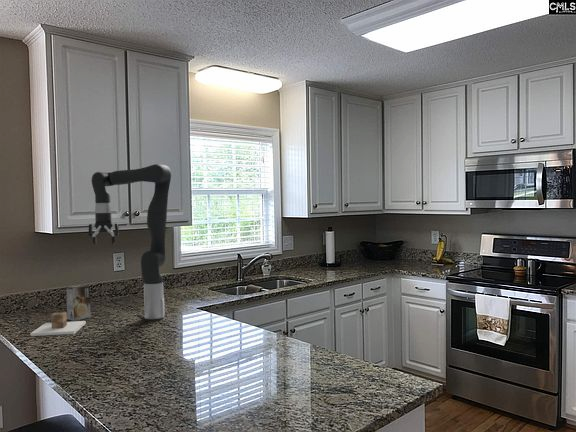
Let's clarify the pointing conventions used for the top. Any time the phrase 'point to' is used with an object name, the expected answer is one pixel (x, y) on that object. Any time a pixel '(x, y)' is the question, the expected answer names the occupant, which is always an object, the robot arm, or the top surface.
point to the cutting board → (58, 329)
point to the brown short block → (59, 320)
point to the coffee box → (78, 302)
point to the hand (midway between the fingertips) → (104, 244)
